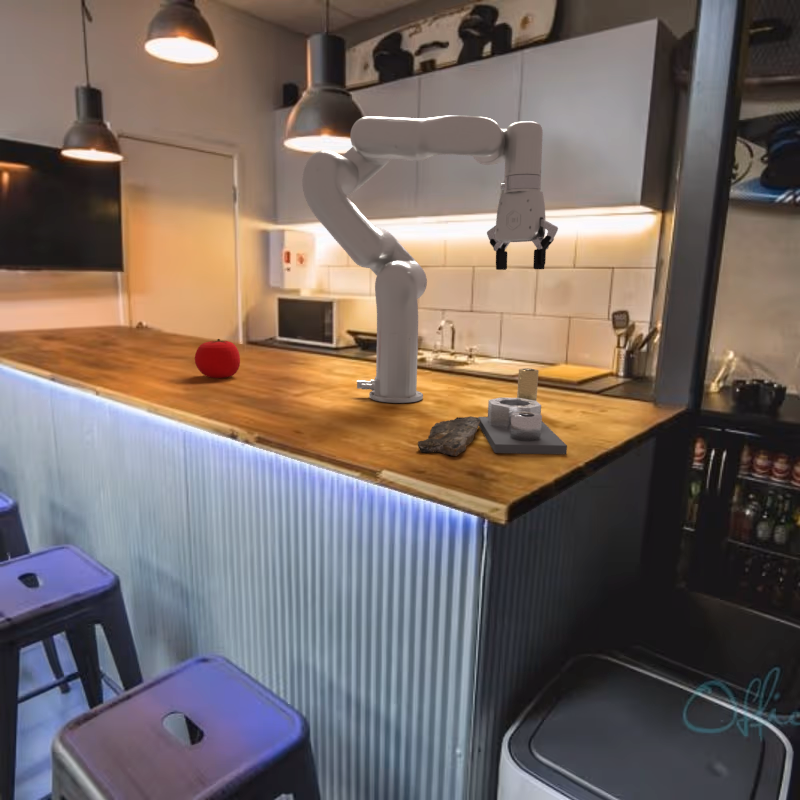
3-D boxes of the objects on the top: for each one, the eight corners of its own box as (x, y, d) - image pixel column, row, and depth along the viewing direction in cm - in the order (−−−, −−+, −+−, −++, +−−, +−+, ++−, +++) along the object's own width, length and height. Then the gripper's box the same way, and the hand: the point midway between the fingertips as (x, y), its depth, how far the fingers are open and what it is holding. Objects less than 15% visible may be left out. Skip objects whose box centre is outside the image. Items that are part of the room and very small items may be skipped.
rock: (442, 424, 121) (443, 411, 121) (482, 428, 119) (482, 415, 119) (415, 457, 102) (416, 441, 101) (462, 462, 100) (463, 446, 99)
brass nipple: (517, 419, 127) (521, 370, 125) (514, 414, 131) (517, 367, 129) (537, 419, 128) (540, 371, 126) (532, 415, 131) (536, 368, 129)
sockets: (501, 440, 105) (502, 417, 104) (485, 417, 122) (486, 396, 121) (555, 441, 105) (557, 418, 104) (532, 417, 122) (533, 397, 121)
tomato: (234, 381, 162) (232, 341, 160) (189, 380, 162) (188, 340, 160) (245, 374, 174) (244, 337, 172) (204, 373, 174) (203, 336, 172)
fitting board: (494, 453, 103) (495, 444, 102) (477, 424, 122) (478, 416, 122) (566, 454, 103) (567, 445, 103) (538, 425, 123) (538, 417, 122)
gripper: (478, 189, 133) (477, 269, 137) (548, 179, 121) (544, 268, 125) (499, 192, 139) (497, 270, 142) (568, 183, 126) (564, 269, 130)
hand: (519, 269), depth 133 cm, fingers open, 9 cm apart
